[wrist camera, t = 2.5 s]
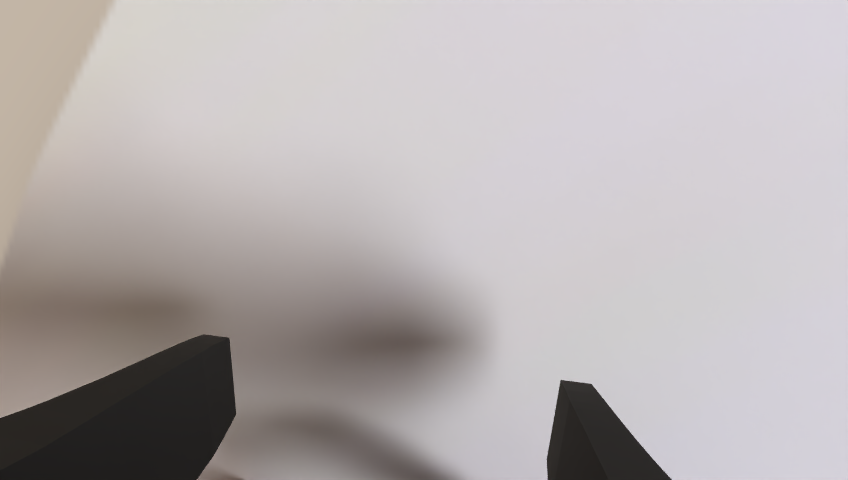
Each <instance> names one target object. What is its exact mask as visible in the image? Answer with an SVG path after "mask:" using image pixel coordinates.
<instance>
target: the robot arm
mask: <svg viewBox="0 0 848 480" xmlns="http://www.w3.org/2000/svg"><path fill="white" fill-rule="evenodd" d="M235 415H236V408H235V396H234V385H233V374H232V363H231V352H230V341H229V338H227V337H219V336H211V335H201V336H198V337H195V338H192V339H190V340H187V341H185V342H182V343H180V344H178V345H175V346H173V347H171V348H168V349H166V350H164V351H162V352H159V353H157V354H155V355H153V356H151V357H148V358H146V359H144V360H142V361H139V362H137V363H135V364H133V365H131V366H128V367H126V368H124V369H122V370H119V371H117V372H115V373H113V374H110V375H108V376H106V377H104V378H101V379H99V380H96V381H94V382H92V383H89V384H87V385H84V386H82V387H80V388H77V389H75V390H72V391H70V392H68V393H65V394H63V395H60V396H58V397H55V398H53V399H51V400H48V401H46V402H43V403H40V404H38V405H35V406H33V407H30V408H27V409H25V410H22V411H19V412H16V413H14V414H11V415H8V416H5V417H2V418H0V480H197V478H198V477H199V476H200V474H201V473H202V471H203V470H204V469H205V467H206V466H207V464H208V463H209V461H210V460H211V459H212V457H213V456H214V454H215V452H216V450H217V449H218V447H219V445H220V443H221V442H222V440H223V438H224V436H225V434H226V432H227V431H228V429H229V427H230V425H231V423H232V421H233V419H234V417H235ZM547 471H548V480H671V478H670V477H669V476H668V475H667V474H666V473H665V472H664V471H663V470H662V469H661V468H660V466H659V465H658V464H657V463H656V462H655V461H654V460H653V459H652V458H651V456H650V455H649V454H648V453H647V452H646V451H645V449H644V448H643V447H642V446H641V445H640V444H639V442H638V441H637V440H636V439H635V438H634V436H633V435H632V434H631V433H630V432H629V430H628V429H627V428H626V427H625V425H624V424H623V423H622V422H621V420H620V419H619V418H618V417H617V415H616V414H615V413H614V412H613V410H612V409H611V408H610V407H609V405H608V404H607V403H606V402H605V400H604V399H603V398H602V397H601V395H600V394H599V393H598V392H597V390H596V389H595V388H594V387H593V385H592V384H587V383H579V382H572V381H564V380H561V381H560V387H559V393H558V399H557V404H556V410H555V416H554V422H553V427H552V433H551V439H550V445H549V450H548V456H547Z"/></svg>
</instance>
